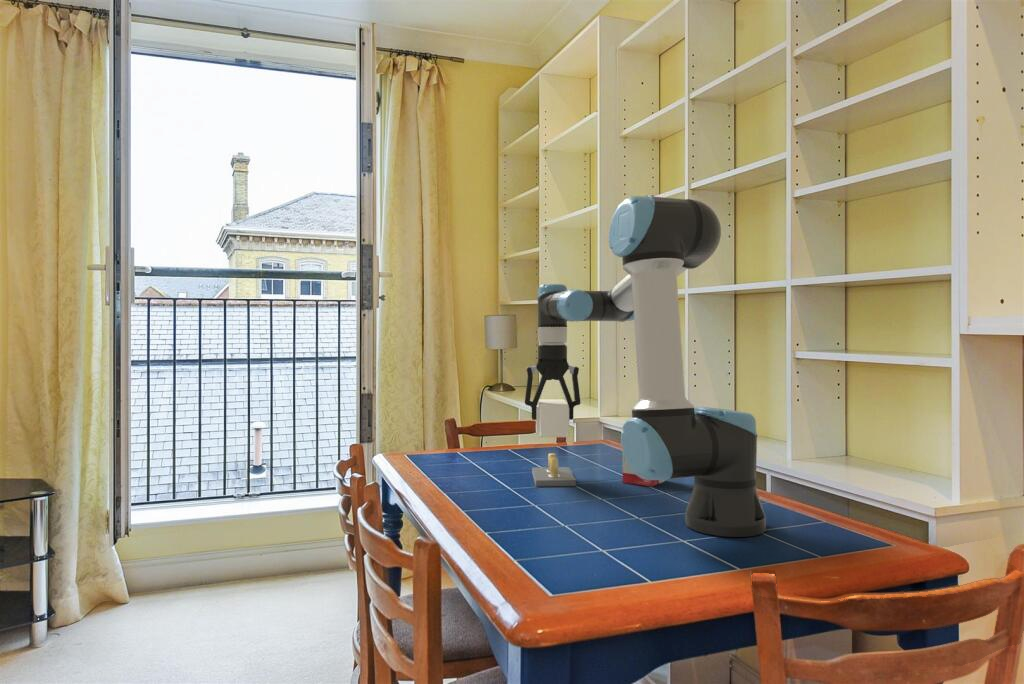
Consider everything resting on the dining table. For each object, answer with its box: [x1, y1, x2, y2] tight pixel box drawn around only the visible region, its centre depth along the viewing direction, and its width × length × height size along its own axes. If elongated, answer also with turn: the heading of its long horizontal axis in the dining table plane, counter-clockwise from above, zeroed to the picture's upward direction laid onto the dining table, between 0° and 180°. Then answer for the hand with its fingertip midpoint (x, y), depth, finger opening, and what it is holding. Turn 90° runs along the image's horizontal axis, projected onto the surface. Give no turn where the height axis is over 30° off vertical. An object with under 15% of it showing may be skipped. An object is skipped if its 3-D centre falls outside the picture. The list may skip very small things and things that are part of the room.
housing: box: [537, 398, 570, 438], centre depth 177 cm, size 13×7×8 cm, turn 2°
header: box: [531, 453, 577, 488], centre depth 177 cm, size 16×10×6 cm, turn 2°
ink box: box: [621, 453, 665, 487], centre depth 173 cm, size 9×9×12 cm
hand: (552, 432), depth 177 cm, fingers closed on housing, 7 cm apart
